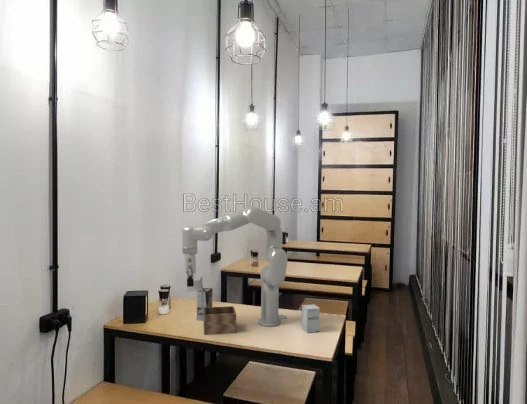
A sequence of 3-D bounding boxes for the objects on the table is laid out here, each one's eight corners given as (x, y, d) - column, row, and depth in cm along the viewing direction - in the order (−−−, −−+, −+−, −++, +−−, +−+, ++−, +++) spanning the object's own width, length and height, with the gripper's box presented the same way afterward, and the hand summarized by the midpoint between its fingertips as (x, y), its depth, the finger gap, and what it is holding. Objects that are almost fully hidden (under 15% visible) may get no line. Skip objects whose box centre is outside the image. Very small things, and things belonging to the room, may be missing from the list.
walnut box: (233, 324, 199) (233, 306, 198) (235, 332, 187) (236, 313, 187) (203, 326, 196) (203, 307, 195) (204, 334, 184) (204, 315, 184)
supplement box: (306, 333, 188) (306, 308, 187) (301, 328, 195) (301, 304, 195) (319, 332, 190) (320, 307, 189) (314, 327, 197) (314, 303, 196)
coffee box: (207, 321, 203) (207, 292, 203) (196, 320, 205) (196, 291, 204) (212, 315, 212) (213, 288, 212) (202, 314, 214) (202, 287, 213)
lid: (201, 277, 195) (187, 278, 193) (202, 283, 183) (186, 284, 181) (203, 307, 195) (188, 308, 194) (204, 314, 183) (188, 316, 182)
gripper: (197, 253, 179) (198, 288, 180) (197, 247, 196) (197, 279, 197) (181, 253, 178) (182, 288, 179) (182, 248, 195) (183, 280, 195)
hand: (190, 283), depth 188 cm, fingers open, 9 cm apart
